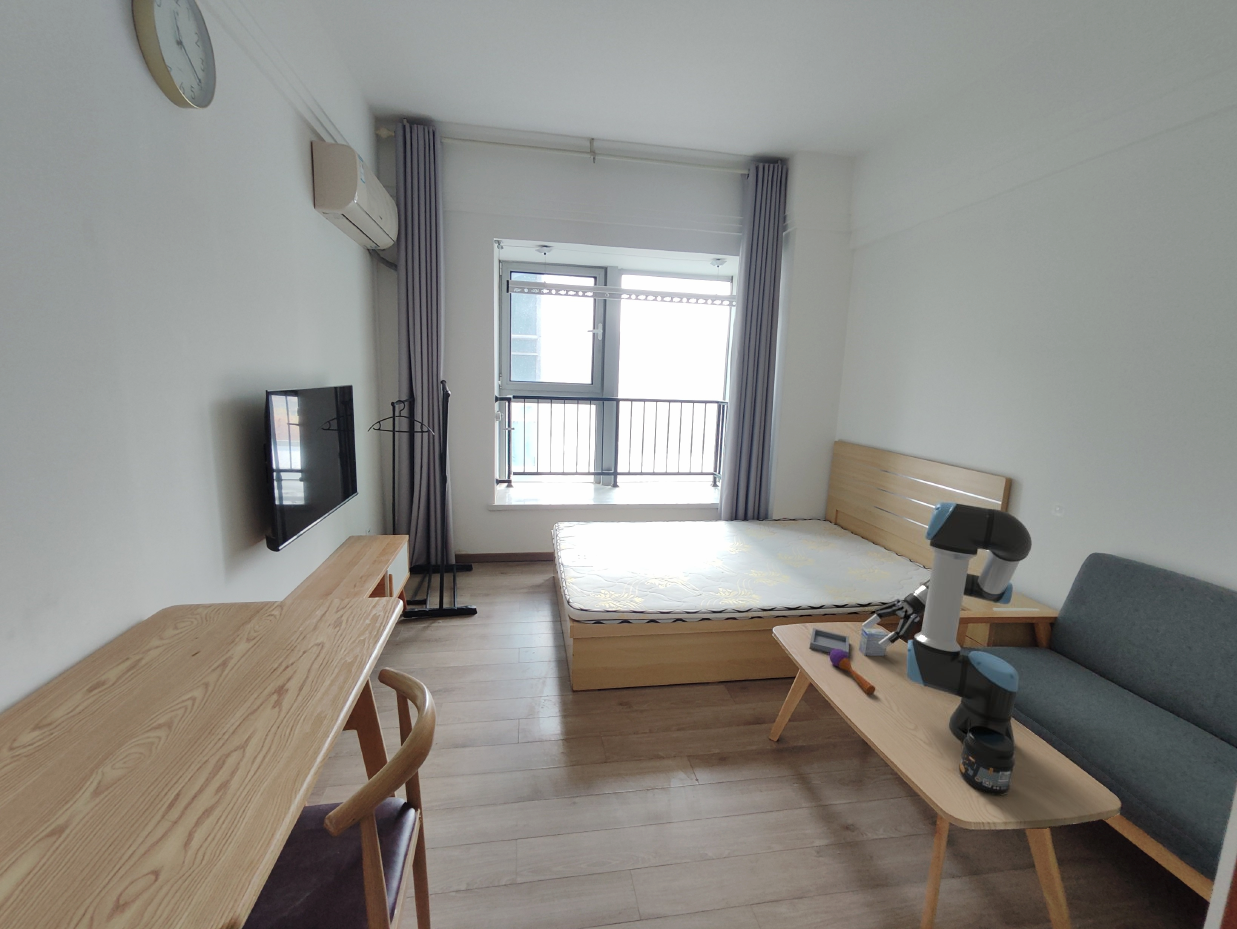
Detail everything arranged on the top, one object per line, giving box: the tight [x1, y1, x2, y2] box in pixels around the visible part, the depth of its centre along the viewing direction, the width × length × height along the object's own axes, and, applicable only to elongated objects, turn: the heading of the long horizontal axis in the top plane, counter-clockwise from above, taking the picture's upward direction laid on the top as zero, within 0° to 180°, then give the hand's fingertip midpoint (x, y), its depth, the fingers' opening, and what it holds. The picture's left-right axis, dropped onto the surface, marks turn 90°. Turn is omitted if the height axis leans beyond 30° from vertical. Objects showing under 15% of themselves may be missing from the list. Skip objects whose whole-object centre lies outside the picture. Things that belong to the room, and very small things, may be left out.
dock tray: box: [809, 627, 850, 656], centre depth 193 cm, size 13×13×2 cm
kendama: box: [828, 649, 876, 695], centre depth 172 cm, size 6×6×20 cm
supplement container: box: [958, 726, 1016, 796], centre depth 128 cm, size 10×10×12 cm
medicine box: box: [858, 628, 889, 657], centre depth 188 cm, size 8×4×9 cm, turn 93°
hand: (872, 636), depth 189 cm, fingers open, 13 cm apart
